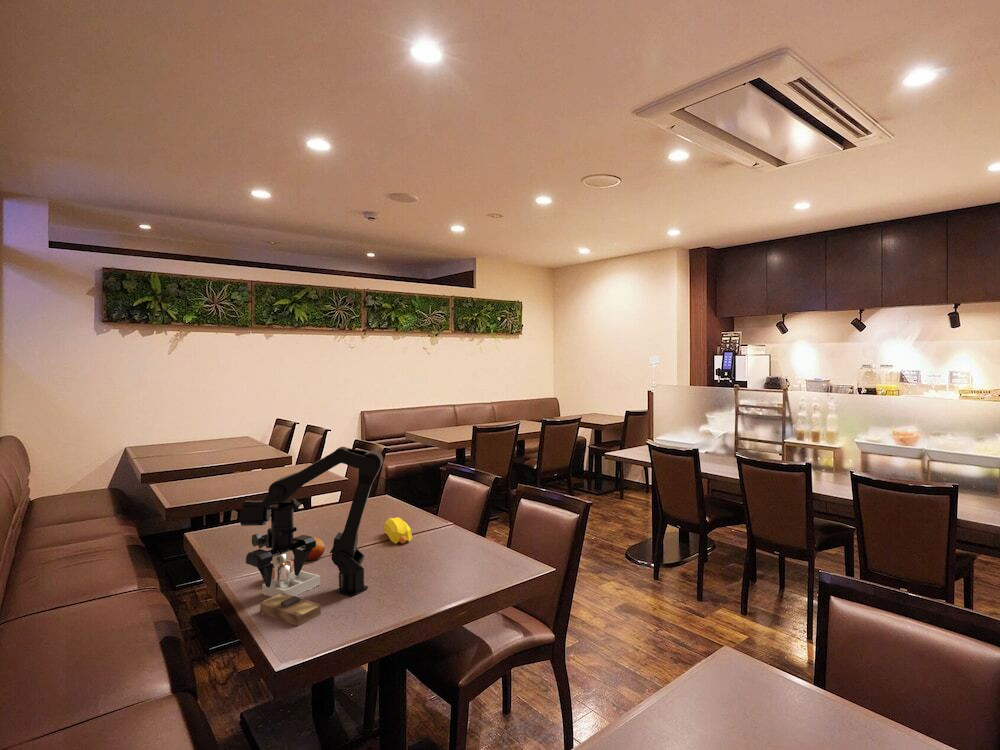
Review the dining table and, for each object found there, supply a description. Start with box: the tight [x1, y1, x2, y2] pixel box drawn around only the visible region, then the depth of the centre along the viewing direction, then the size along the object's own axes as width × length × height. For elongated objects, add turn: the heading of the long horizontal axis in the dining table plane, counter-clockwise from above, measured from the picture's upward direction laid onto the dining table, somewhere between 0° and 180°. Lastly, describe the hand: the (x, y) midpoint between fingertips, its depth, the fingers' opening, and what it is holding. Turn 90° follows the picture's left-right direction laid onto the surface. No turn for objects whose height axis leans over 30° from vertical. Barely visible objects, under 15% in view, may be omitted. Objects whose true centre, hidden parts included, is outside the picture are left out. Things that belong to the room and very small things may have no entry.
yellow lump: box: [383, 516, 413, 545], centre depth 195 cm, size 18×7×8 cm
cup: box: [271, 559, 294, 581], centre depth 156 cm, size 7×7×5 cm
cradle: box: [259, 593, 322, 627], centre depth 134 cm, size 15×7×4 cm, turn 60°
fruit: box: [306, 536, 326, 561], centre depth 174 cm, size 8×8×8 cm
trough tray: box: [262, 570, 321, 598], centre depth 149 cm, size 9×12×3 cm
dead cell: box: [271, 552, 288, 568], centre depth 156 cm, size 4×4×8 cm
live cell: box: [275, 562, 290, 590], centre depth 146 cm, size 4×4×8 cm
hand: (282, 580), depth 146 cm, fingers open, 9 cm apart
